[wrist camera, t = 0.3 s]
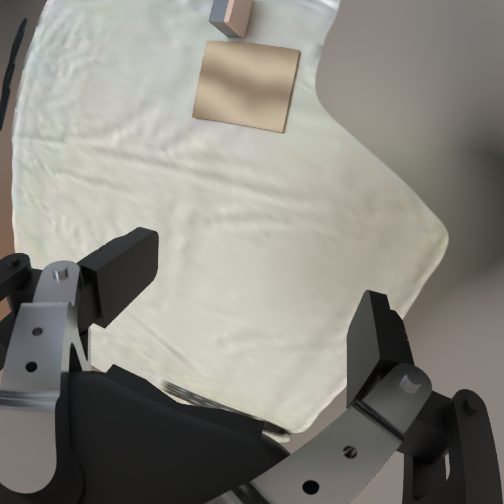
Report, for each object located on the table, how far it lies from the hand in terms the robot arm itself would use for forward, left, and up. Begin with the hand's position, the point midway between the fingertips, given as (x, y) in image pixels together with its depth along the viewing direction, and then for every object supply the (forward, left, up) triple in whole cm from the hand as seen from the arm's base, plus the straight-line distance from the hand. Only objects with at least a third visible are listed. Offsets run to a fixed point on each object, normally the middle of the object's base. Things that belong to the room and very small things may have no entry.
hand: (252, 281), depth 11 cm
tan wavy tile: (-10, -10, -28) cm, 31 cm away
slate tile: (-19, -12, -28) cm, 36 cm away
